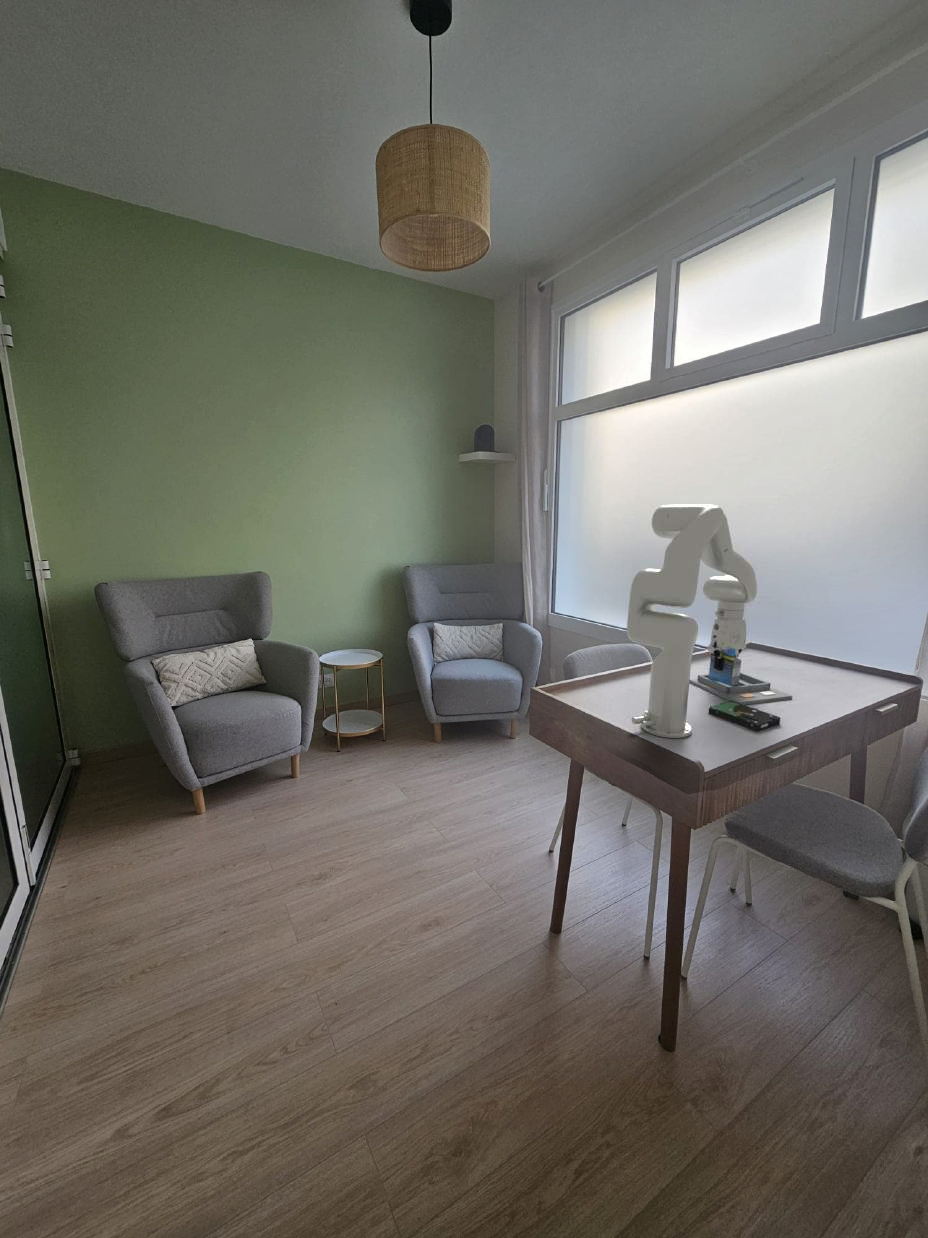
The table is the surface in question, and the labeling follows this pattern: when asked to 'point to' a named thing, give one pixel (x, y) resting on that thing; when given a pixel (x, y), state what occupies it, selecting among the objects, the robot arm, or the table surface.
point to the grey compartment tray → (742, 690)
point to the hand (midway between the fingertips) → (724, 668)
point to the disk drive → (744, 716)
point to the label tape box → (726, 669)
